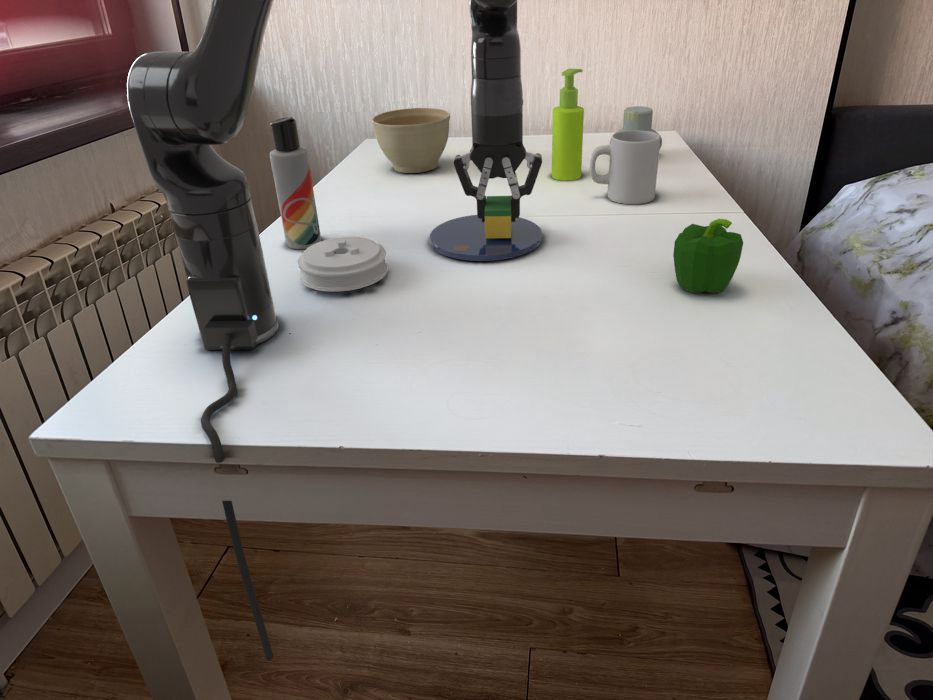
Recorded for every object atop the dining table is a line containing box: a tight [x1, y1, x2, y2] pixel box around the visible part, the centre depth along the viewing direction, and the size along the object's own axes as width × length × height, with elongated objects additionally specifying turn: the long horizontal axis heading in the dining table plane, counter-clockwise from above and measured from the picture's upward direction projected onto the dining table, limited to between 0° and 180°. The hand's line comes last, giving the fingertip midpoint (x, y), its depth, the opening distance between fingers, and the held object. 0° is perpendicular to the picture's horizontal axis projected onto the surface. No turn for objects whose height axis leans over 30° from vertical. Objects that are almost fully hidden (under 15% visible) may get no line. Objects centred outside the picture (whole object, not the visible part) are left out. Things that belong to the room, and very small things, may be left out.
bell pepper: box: [672, 218, 744, 294], centre depth 92 cm, size 8×8×10 cm
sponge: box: [485, 195, 512, 239], centre depth 110 cm, size 7×4×4 cm, turn 176°
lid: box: [297, 236, 389, 293], centre depth 100 cm, size 13×13×5 cm
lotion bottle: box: [269, 116, 322, 250], centre depth 109 cm, size 6×6×20 cm
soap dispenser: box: [551, 68, 585, 182], centre depth 135 cm, size 6×7×20 cm
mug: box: [589, 130, 661, 205], centre depth 125 cm, size 12×8×11 cm
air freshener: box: [609, 105, 663, 151], centre depth 147 cm, size 11×8×10 cm
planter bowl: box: [371, 107, 451, 174], centre depth 147 cm, size 16×16×11 cm
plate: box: [429, 214, 543, 262], centre depth 112 cm, size 18×18×1 cm
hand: (498, 219), depth 110 cm, fingers closed on sponge, 4 cm apart
